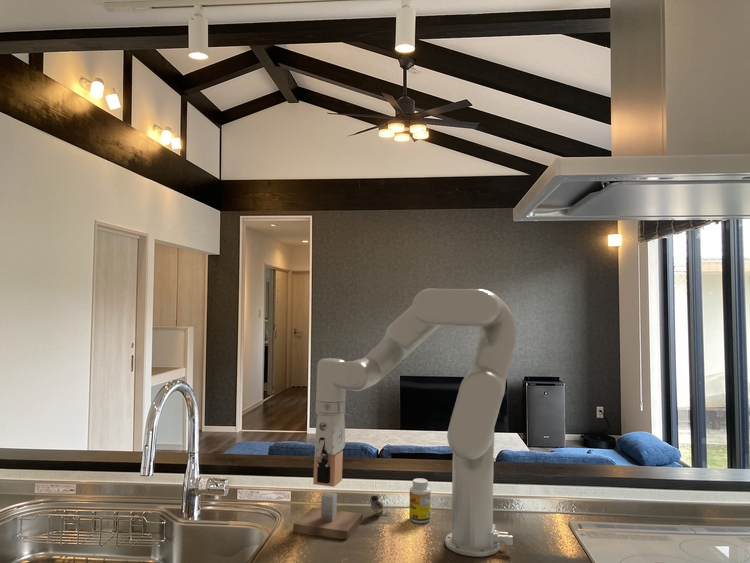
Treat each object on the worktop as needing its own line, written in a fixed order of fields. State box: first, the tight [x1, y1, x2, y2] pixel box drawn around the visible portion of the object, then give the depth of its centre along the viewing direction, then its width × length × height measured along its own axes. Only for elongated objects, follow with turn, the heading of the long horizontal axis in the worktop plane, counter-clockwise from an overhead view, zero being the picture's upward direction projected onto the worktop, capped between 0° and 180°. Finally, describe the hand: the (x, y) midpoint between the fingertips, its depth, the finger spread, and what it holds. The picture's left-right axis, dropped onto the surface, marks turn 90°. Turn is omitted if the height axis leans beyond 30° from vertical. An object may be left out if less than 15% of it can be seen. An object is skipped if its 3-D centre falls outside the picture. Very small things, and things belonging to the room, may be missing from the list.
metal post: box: [320, 491, 338, 521], centre depth 140 cm, size 3×3×6 cm
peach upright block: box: [312, 449, 344, 488], centre depth 141 cm, size 6×6×8 cm
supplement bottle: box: [408, 478, 432, 524], centre depth 146 cm, size 6×6×10 cm
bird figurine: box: [369, 495, 391, 517], centre depth 147 cm, size 5×5×6 cm
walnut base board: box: [292, 507, 363, 540], centre depth 140 cm, size 14×12×2 cm
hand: (327, 478), depth 140 cm, fingers closed on peach upright block, 5 cm apart
